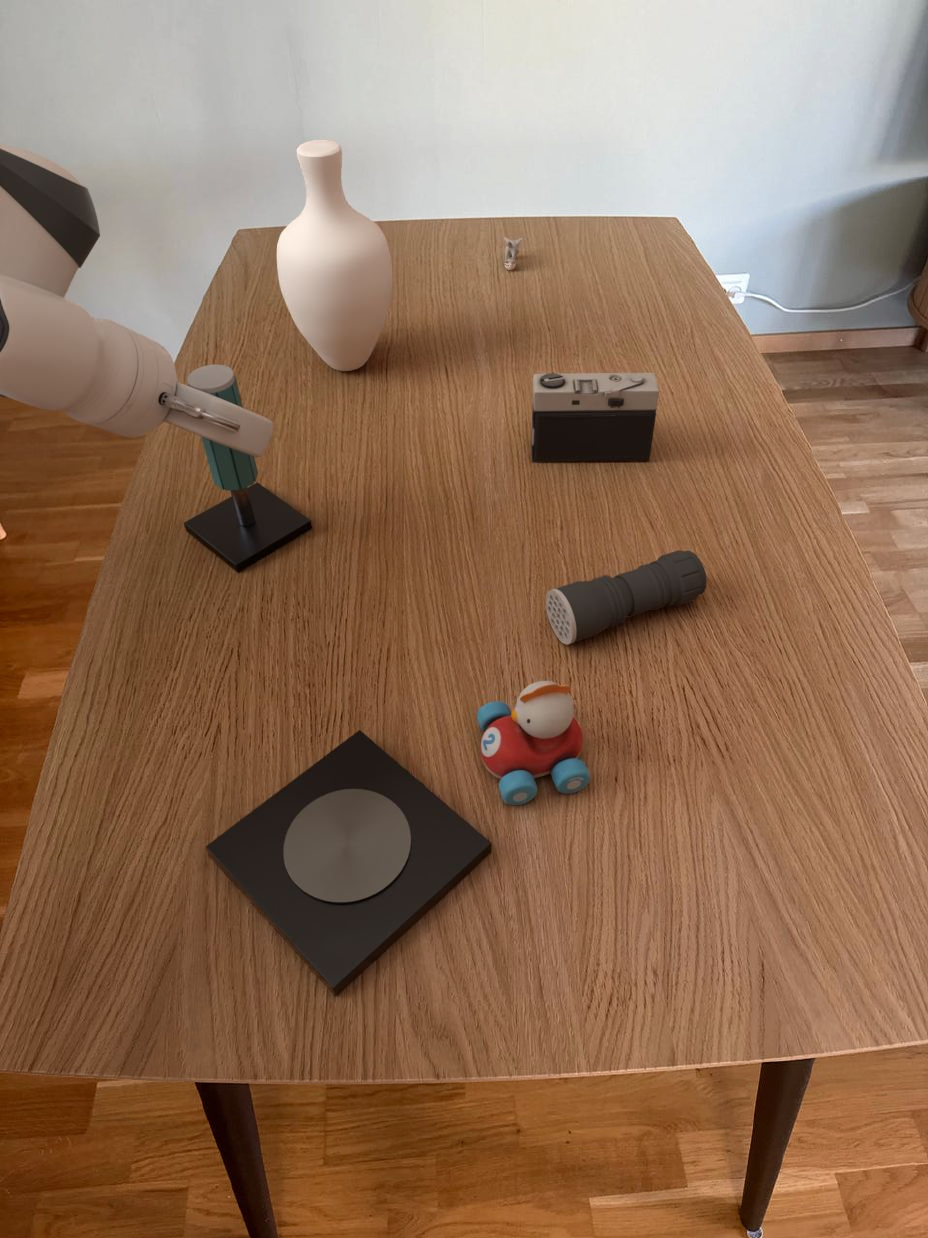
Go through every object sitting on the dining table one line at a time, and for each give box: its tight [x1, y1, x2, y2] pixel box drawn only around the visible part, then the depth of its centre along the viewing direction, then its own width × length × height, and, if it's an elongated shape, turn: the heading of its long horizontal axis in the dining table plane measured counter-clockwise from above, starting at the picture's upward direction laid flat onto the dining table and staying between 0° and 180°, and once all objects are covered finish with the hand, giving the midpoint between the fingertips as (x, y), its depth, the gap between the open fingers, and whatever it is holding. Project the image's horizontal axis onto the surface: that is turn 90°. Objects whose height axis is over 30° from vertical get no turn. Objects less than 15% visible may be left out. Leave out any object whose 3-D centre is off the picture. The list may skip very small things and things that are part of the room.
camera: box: [530, 372, 660, 463], centre depth 107 cm, size 14×8×10 cm, turn 88°
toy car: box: [476, 680, 591, 806], centre depth 75 cm, size 9×9×10 cm
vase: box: [276, 139, 394, 372], centre depth 115 cm, size 14×14×28 cm
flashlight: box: [545, 549, 708, 646], centre depth 88 cm, size 15×5×5 cm, turn 114°
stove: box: [205, 729, 493, 997], centre depth 72 cm, size 16×16×2 cm
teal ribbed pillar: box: [186, 364, 259, 492], centre depth 91 cm, size 4×4×12 cm
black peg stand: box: [183, 481, 313, 574], centre depth 98 cm, size 10×10×7 cm
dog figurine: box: [502, 236, 524, 271], centre depth 143 cm, size 3×8×6 cm
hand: (227, 424), depth 92 cm, fingers closed on teal ribbed pillar, 4 cm apart
